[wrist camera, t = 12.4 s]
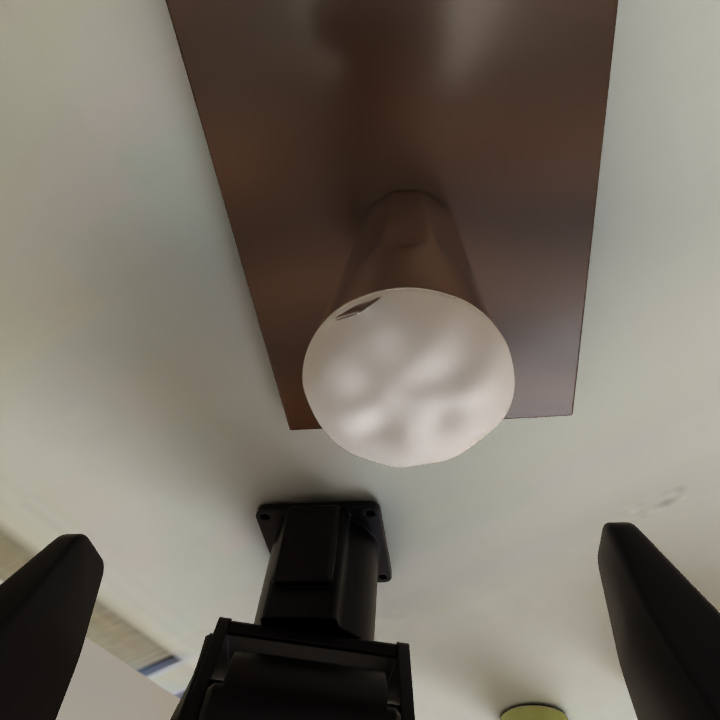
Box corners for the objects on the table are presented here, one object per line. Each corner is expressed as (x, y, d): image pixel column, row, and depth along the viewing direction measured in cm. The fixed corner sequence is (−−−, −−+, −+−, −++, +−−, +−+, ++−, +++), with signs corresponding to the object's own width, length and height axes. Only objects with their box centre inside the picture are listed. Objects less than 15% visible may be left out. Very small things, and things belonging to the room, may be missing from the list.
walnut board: (567, 400, 23) (573, 416, 22) (293, 416, 25) (289, 431, 24) (626, -184, 13) (641, -194, 12) (152, -89, 15) (137, -92, 14)
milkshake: (450, 119, 16) (491, 275, 8) (490, 275, 19) (549, 505, 11) (310, 170, 17) (222, 349, 9) (367, 309, 20) (337, 540, 12)
